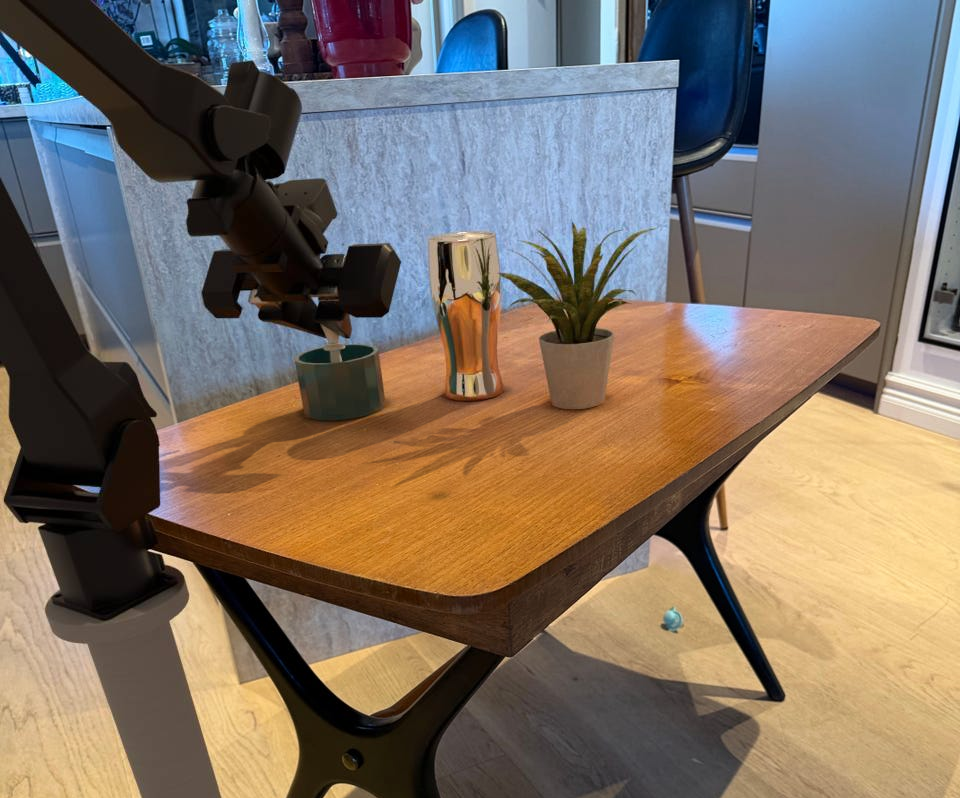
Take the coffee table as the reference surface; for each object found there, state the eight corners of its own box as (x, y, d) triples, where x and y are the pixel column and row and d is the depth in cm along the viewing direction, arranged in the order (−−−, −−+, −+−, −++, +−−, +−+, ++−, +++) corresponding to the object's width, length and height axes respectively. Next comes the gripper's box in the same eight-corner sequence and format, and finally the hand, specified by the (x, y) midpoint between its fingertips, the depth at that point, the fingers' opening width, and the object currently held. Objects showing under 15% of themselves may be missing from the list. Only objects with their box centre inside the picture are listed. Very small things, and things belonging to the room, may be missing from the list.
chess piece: (334, 413, 88) (318, 307, 83) (309, 405, 91) (292, 302, 86) (375, 402, 91) (362, 298, 86) (350, 394, 94) (336, 294, 89)
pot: (349, 424, 86) (340, 367, 84) (287, 416, 91) (276, 361, 88) (401, 400, 92) (394, 346, 89) (341, 393, 96) (333, 341, 94)
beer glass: (433, 390, 95) (417, 236, 87) (495, 380, 96) (485, 228, 89) (451, 406, 89) (435, 243, 81) (517, 395, 90) (507, 234, 83)
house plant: (614, 371, 96) (614, 202, 87) (688, 400, 84) (695, 210, 76) (492, 395, 91) (479, 220, 83) (552, 429, 80) (545, 231, 72)
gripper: (377, 137, 73) (442, 261, 87) (190, 153, 79) (279, 266, 94) (346, 255, 71) (418, 363, 85) (155, 262, 77) (252, 360, 91)
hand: (339, 334), depth 89 cm, fingers closed on chess piece, 2 cm apart
